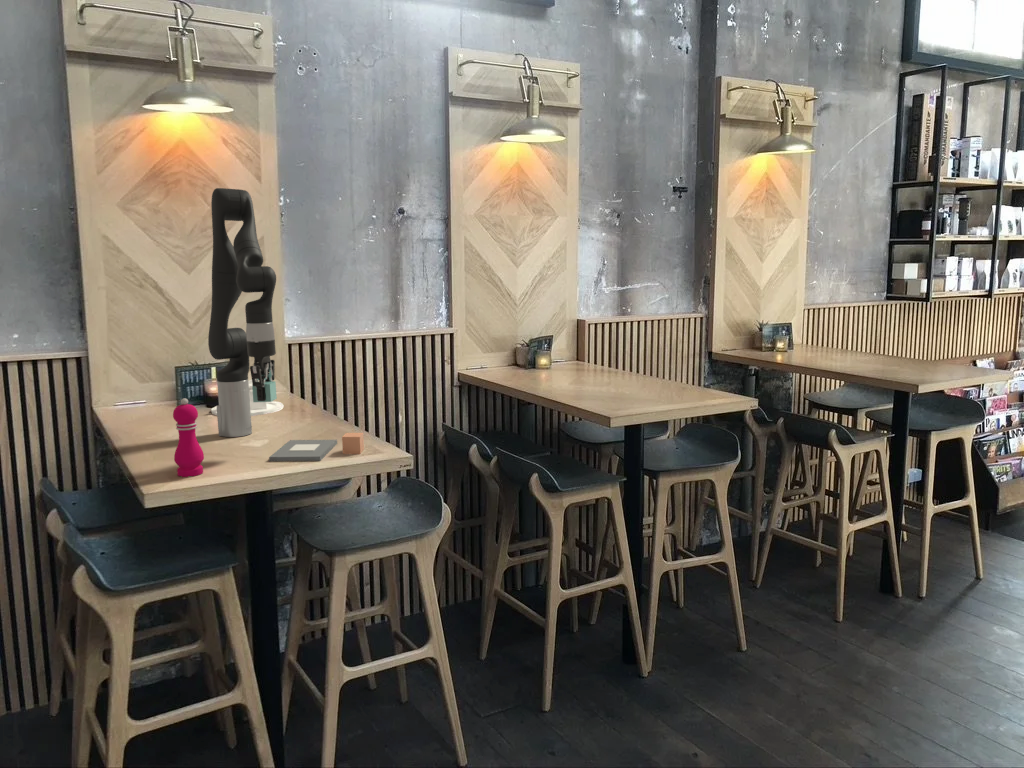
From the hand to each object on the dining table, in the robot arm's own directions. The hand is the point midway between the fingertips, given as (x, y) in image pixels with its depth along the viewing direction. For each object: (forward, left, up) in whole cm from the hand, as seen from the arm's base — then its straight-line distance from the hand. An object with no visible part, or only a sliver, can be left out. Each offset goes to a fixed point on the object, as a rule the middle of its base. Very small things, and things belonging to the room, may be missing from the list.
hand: (265, 398), depth 239 cm
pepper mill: (-14, -22, -16) cm, 30 cm away
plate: (+10, 0, -16) cm, 19 cm away
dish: (-28, +64, -16) cm, 72 cm away
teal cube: (0, 0, 0) cm, 0 cm away
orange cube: (+24, 0, -16) cm, 29 cm away
